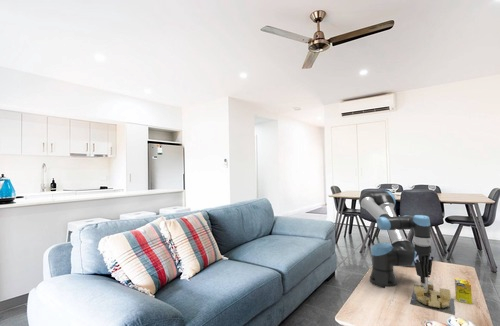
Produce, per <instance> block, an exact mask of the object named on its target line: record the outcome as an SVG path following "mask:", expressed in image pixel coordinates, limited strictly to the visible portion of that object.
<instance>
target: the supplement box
mask: <svg viewBox="0 0 500 326" xmlns="http://www.w3.org/2000/svg"><path fill="white" fill-rule="evenodd" d="M454 287H455V288H454V289H455V299H456V301H457V302H458V303H464V304H468V305H473V297H472V284H471V281H470V280H467V279H461V278H454Z"/></svg>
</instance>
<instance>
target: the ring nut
mask: <svg viewBox="0 0 500 326" xmlns="http://www.w3.org/2000/svg"><path fill="white" fill-rule="evenodd" d="M413 290H414V293H415V294H416V299H417V300H418V301H419V302H421V303H423V304H425V305H429V306H432V307H438V308H440V307H442V308H444V307H448V306H449V305H450V300H451V298H452V297H451V295H452V294H451V290H450V289H448V288H441V287H440V288H439V291H438V290H437V291H436V290H435V289H434V283H433V281H429V280H428V290H424V289H423V286H422V285H421V284H416V283H415V284H414V283H413ZM428 294H430V298H428V297H427V295H428Z"/></svg>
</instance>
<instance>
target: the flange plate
mask: <svg viewBox="0 0 500 326" xmlns="http://www.w3.org/2000/svg"><path fill="white" fill-rule="evenodd" d="M427 297H428V298H430V294H428V295H427ZM409 304H410V305H412V306H416V307H420V308H424V309H428V310H432V311H436V312H440V313H444V314H448V315H453V316H456V309H455V308H456V307H455V299H454V298H452V297H451V300H450V305H449V306H448V307H444V308H442V307H440V308H438V307H432V306H429V305H425V304H423V303H421V302H419V301H418V300H417V299H416V294H415V293H414V289H413V291H412V293H411V299H410V303H409Z"/></svg>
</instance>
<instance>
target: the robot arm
mask: <svg viewBox="0 0 500 326" xmlns="http://www.w3.org/2000/svg"><path fill="white" fill-rule="evenodd" d="M396 202H397V201H396V197H395V195H394V193H392V192H391V191H389V190H379V191H378V190H377V191H376V190H375V191H374V190H373V191H372V190H371V191H369V190H368V191H365V192H363V193H362V194H360V196H359V198H358V204H359V206H360V207H361V208H362V209H363V210H366V211H367V212H368V213H369V214H370V215H371V216H372V217H373V218H374V219H375V220H376V226H377V228H378V229H379V231H380V230H381V231H387V233H388V235H389V238H390V241H391V243H389V242H388V243H387V242H380V243H379V242H378V243H375V244H373V245H372V247H371V252H370V253H371V268H372V269H371V272H370V276H369V281H370V284H371V285H374V286H376V287H378V288H383V289H385V288H386V287H387V288H388V287H389V288H390V287H396V286H397V285H398V279H397V277H396V274H395V272H394V267H415V271H416V275H417V276H418V277H419V278H420V285H422V286H423V289H424V290H428V281H429V278H430V277H431V275H432V267H433V261H434V256H431V253H432V245H431V244H432V240H431V238H432V237H431V220H430V219H431V218H430V217H429V216H428V215H424V214H415V215H408V214H405V215H403V216H397V214H396V212H395V210H394V208H395V206H396ZM403 230H404V231H407V230H411V231H413V242H414V245H412V244H413V243H412V242H411V241H410V240H409V239H407V237H406V236H405V233H404V231H403Z"/></svg>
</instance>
